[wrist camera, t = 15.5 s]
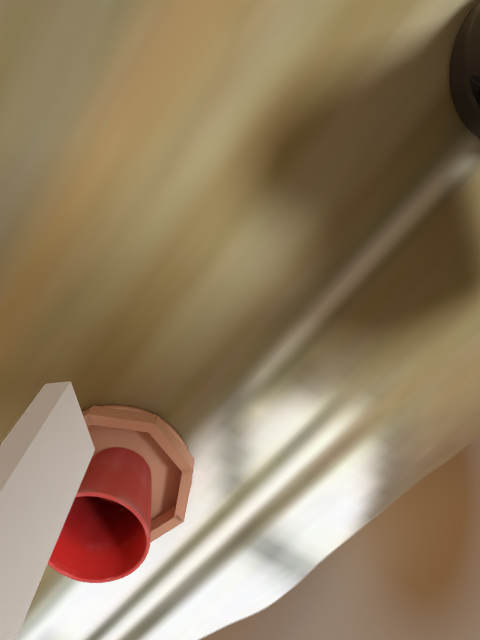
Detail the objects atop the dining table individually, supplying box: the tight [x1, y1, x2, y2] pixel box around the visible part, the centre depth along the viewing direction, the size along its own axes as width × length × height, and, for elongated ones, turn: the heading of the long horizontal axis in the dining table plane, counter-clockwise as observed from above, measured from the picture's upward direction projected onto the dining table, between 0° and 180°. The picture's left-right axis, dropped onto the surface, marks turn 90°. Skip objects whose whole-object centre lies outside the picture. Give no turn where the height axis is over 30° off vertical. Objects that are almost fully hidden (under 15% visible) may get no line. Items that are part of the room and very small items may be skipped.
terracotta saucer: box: [82, 405, 194, 542], centre depth 44 cm, size 18×18×3 cm
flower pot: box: [48, 447, 152, 583], centre depth 40 cm, size 11×11×10 cm
